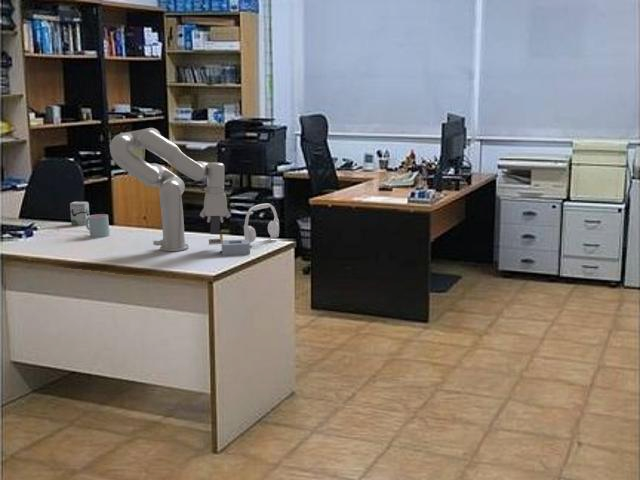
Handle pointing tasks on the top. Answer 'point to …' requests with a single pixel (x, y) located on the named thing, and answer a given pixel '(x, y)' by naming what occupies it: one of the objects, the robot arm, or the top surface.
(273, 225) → the headset
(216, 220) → the plug
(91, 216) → the mug
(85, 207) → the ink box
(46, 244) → the top surface
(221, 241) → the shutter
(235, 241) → the socket
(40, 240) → the top surface
